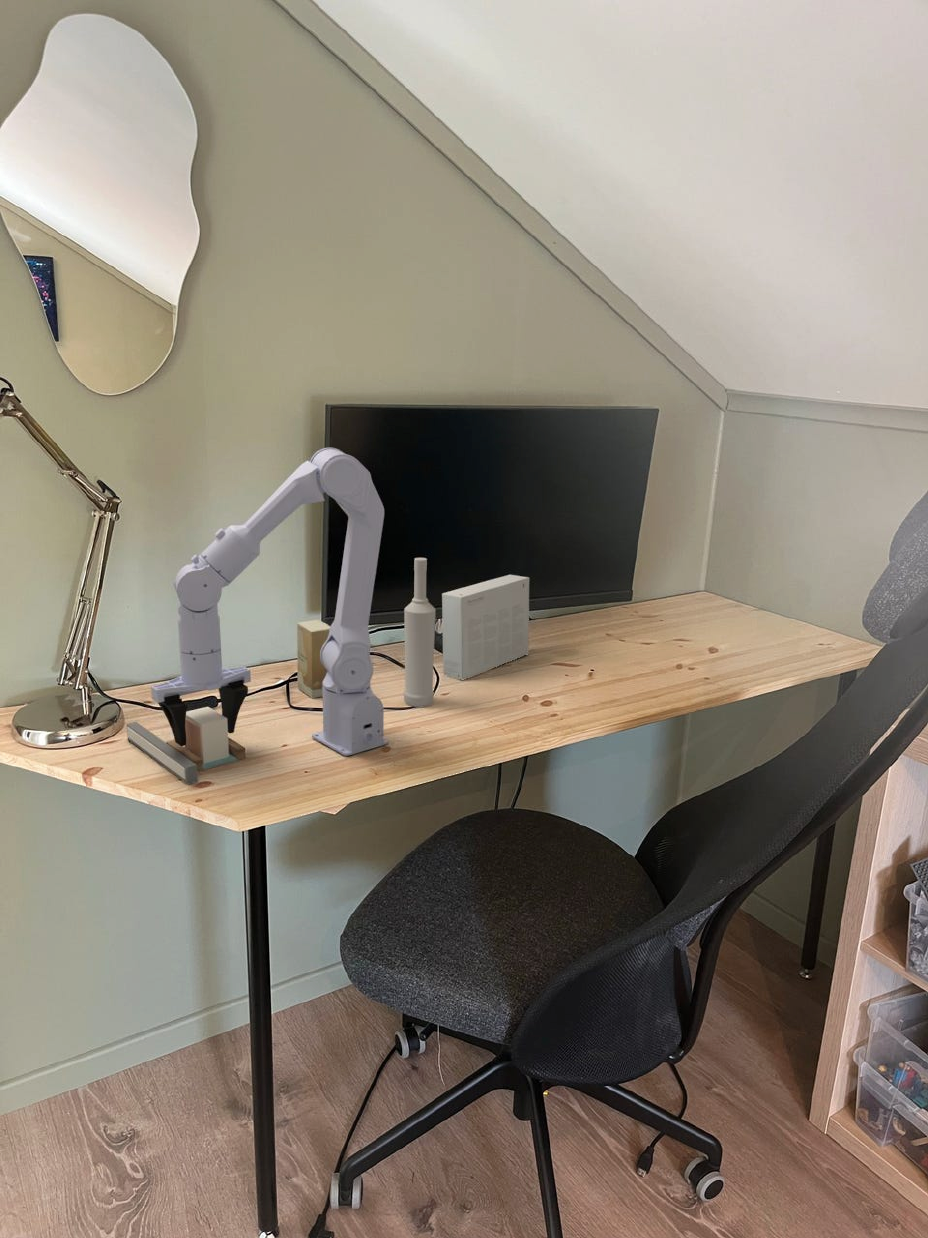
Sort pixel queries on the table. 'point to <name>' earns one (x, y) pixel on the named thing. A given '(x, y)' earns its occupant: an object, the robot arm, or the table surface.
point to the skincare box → (311, 656)
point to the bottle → (419, 642)
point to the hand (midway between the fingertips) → (205, 737)
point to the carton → (207, 734)
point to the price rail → (162, 753)
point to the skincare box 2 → (485, 625)
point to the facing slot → (234, 754)
